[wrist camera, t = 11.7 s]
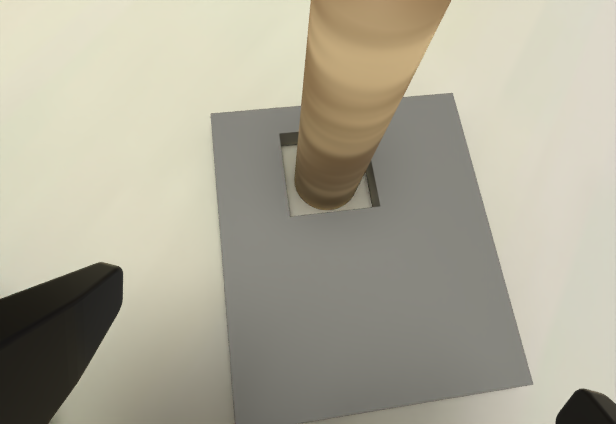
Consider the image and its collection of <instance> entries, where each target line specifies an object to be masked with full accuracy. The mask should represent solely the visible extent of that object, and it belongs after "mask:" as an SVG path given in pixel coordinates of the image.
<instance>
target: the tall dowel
mask: <svg viewBox="0 0 616 424" xmlns="http://www.w3.org/2000/svg"><path fill="white" fill-rule="evenodd" d="M450 2H451V0H311V5H310V15H309V26H308V37H307V48H306V59H305V70H304V80H303V91H302V102H301V113H300V124H299V134H298V145H297V156H296V167H295V178H294V181H295V187H296V190H297V192H298V194H299V196H300V197H301V198H302V199H303V200H304V201H305V202H306V203H307V204H309V205H310V206H312V207H314V208H317V209H322V210H332V209H336V208H339V207H341V206H343V205H345V204H346V203H347V202H349V200H350V199H351V198H352V197H353V195H354V193H355V191H356V189H357V187H358V185H359V183H360V181H361V179H362V177H363V175H364V173H365V171H366V169H367V167H368V165H369V163H370V161H371V159H372V157H373V155H374V153H375V151H376V149H377V147H378V145H379V143H380V141H381V139H382V137H383V135H384V133H385V131H386V129H387V127H388V125H389V123H390V121H391V119H392V117H393V115H394V113H395V111H396V109H397V107H398V105H399V103H400V101H401V99H402V98H403V96H404V94H405V92H406V90H407V88H408V86H409V84H410V82H411V80H412V78H413V76H414V74H415V72H416V70H417V68H418V66H419V64H420V62H421V60H422V58H423V56H424V54H425V52H426V50H427V48H428V46H429V44H430V42H431V40H432V38H433V36H434V34H435V32H436V30H437V28H438V26H439V24H440V22H441V20H442V18H443V16H444V14H445V12H446V10H447V8H448V6H449V4H450Z"/></svg>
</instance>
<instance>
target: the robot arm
mask: <svg viewBox="0 0 616 424" xmlns="http://www.w3.org/2000/svg"><path fill="white" fill-rule="evenodd" d="M122 300H123V271H122V269H121V268H120V267H119V266H116V265H112V264H108V263H104V262H99V263H96V264H93V265H90V266H88V267H85V268H82V269H79V270H77V271H74V272H71V273H69V274H66V275H63V276H61V277H58V278H55V279H53V280H50V281H47V282H45V283H42V284H39V285H36V286H34V287H31V288H28V289H26V290H23V291H20V292H18V293H15V294H12V295H10V296H7V297H4V298H2V299H0V424H48V423H49V421H50V420H51V419H52V417H53V416H54V415H55V413H56V412H57V410H58V409H59V408H60V406H61V405H62V404H63V402H64V401H65V399H66V398H67V397H68V395H69V394H70V393H71V391H72V390H73V388H74V387H75V385H76V384H77V382H78V381H79V379H80V378H81V376H82V374H83V373H84V371H85V369H86V368H87V366H88V364H89V363H90V361H91V359H92V357H93V356H94V354H95V352H96V350H97V349H98V347H99V345H100V344H101V342H102V340H103V338H104V337H105V335H106V333H107V331H108V330H109V328H110V326H111V325H112V323H113V321H114V319H115V318H116V316H117V314H118V312H119V310H120V308H121V305H122ZM556 424H616V404H615V403H614V402H613V401H612V400H611V399H609V398H608V397H607V396H606V395H604V394H602V393H599V392H595V391H591V390H588V389H579V390H577V391H575V392H574V394H573V395H572V396H571V397H570V399H569V400H568V401H567V403H566V404H565V405H564V407H563V408H562V409H561V410H560V412H559V413H558V415H557V417H556Z"/></svg>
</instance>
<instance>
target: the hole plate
mask: <svg viewBox="0 0 616 424" xmlns="http://www.w3.org/2000/svg"><path fill="white" fill-rule="evenodd" d="M300 113H301V106H294V107H282V108H270V109H258V110H247V111H235V112H223V113H211V124H212V137H213V150H214V162H215V175H216V188H217V200H218V213H219V226H220V238H221V251H222V264H223V276H224V289H225V302H226V315H227V327H228V340H229V353H230V365H231V378H232V391H233V403H234V416H235V424H299V423H305V422H311V421H317V420H323V419H329V418H335V417H341V416H347V415H353V414H359V413H365V412H371V411H377V410H383V409H389V408H395V407H401V406H407V405H413V404H419V403H425V402H431V401H437V400H443V399H449V398H455V397H461V396H467V395H473V394H479V393H485V392H491V391H497V390H503V389H509V388H515V387H521V386H527V385H533V381H532V378H531V374H530V371H529V367H528V363H527V360H526V356H525V353H524V349H523V345H522V342H521V338H520V335H519V331H518V327H517V324H516V320H515V316H514V313H513V309H512V306H511V302H510V298H509V295H508V291H507V288H506V284H505V280H504V277H503V273H502V270H501V266H500V262H499V259H498V255H497V251H496V248H495V244H494V241H493V237H492V233H491V230H490V226H489V223H488V219H487V215H486V212H485V208H484V205H483V201H482V197H481V194H480V190H479V186H478V183H477V179H476V176H475V172H474V168H473V165H472V161H471V158H470V154H469V150H468V147H467V143H466V140H465V136H464V132H463V129H462V125H461V122H460V118H459V114H458V111H457V107H456V103H455V100H454V96H453V93H446V94H435V95H423V96H411V97H403V98H402V99H401V101H400V103H399V105H398V107H397V109H396V111H395V113H394V115H393V117H392V119H391V121H390V123H389V125H388V127H387V129H386V131H385V133H384V135H383V137H382V139H381V141H380V143H379V145H378V147H377V149H376V151H375V153H374V155H373V157H372V159H371V161H370V163H369V165H368V167H367V169H366V175H367V180H368V185H369V190H370V195H371V201H372V206H373V207H371V208H362V209H353V210H345V211H336V212H327V213H318V214H309V215H300V216H292V217H290V212H289V205H288V197H287V189H286V182H285V174H284V166H283V159H282V151H281V146H284V145H294V144H298V134H299V124H300Z"/></svg>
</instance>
